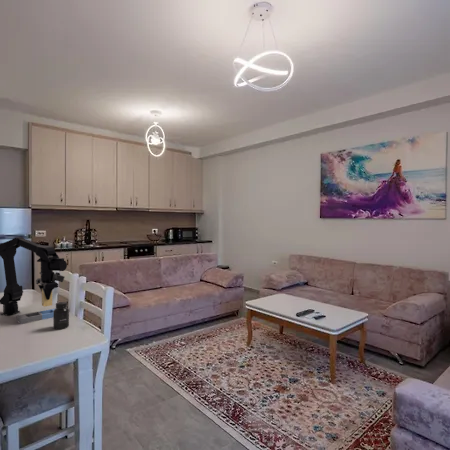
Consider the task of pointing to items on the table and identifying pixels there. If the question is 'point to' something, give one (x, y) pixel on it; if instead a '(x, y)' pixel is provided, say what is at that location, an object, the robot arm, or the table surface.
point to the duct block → (35, 316)
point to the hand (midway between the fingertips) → (46, 298)
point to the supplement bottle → (61, 316)
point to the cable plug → (45, 301)
